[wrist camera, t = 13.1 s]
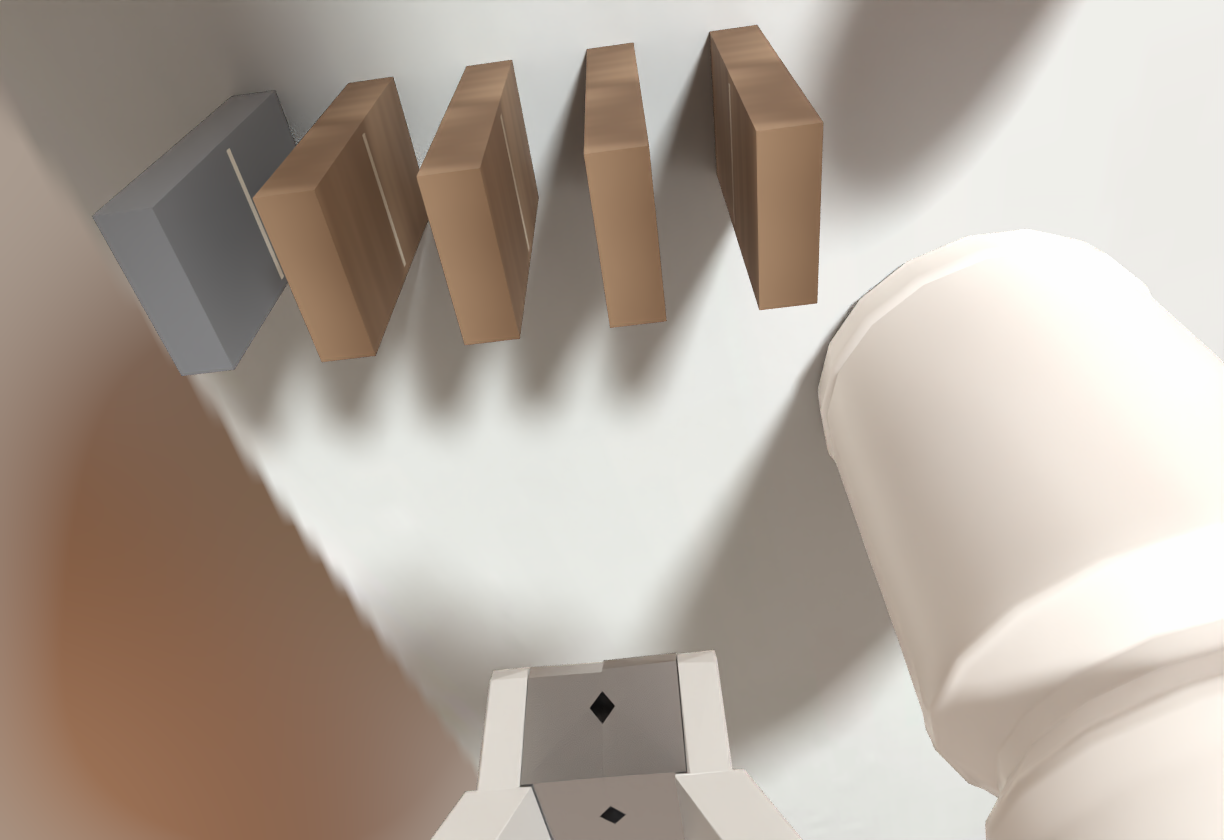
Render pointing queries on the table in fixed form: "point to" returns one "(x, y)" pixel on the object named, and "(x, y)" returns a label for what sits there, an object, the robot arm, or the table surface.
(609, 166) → the domino
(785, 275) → the domino
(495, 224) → the domino
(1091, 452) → the bottle
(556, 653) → the table surface
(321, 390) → the table surface
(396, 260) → the domino
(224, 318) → the end domino
